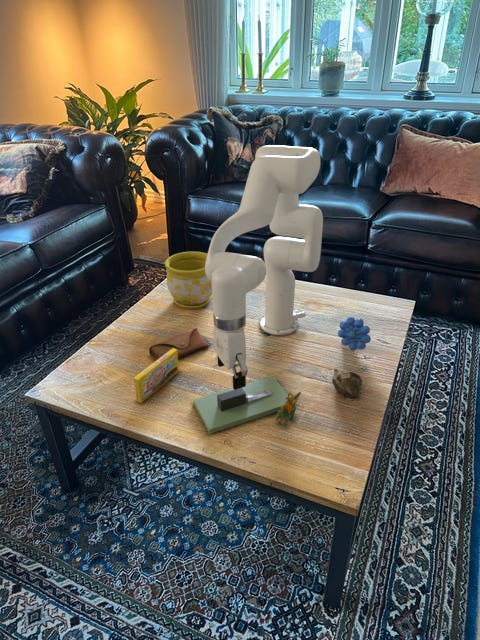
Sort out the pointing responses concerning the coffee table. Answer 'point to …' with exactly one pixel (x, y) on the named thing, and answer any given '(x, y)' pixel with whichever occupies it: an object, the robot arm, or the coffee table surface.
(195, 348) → the sunglasses case
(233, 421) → the sage board
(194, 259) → the flowerpot
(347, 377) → the fossilized seashell
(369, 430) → the coffee table surface
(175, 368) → the candy box
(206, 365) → the coffee table surface
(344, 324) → the blue flower shape
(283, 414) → the figurine
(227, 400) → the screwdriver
